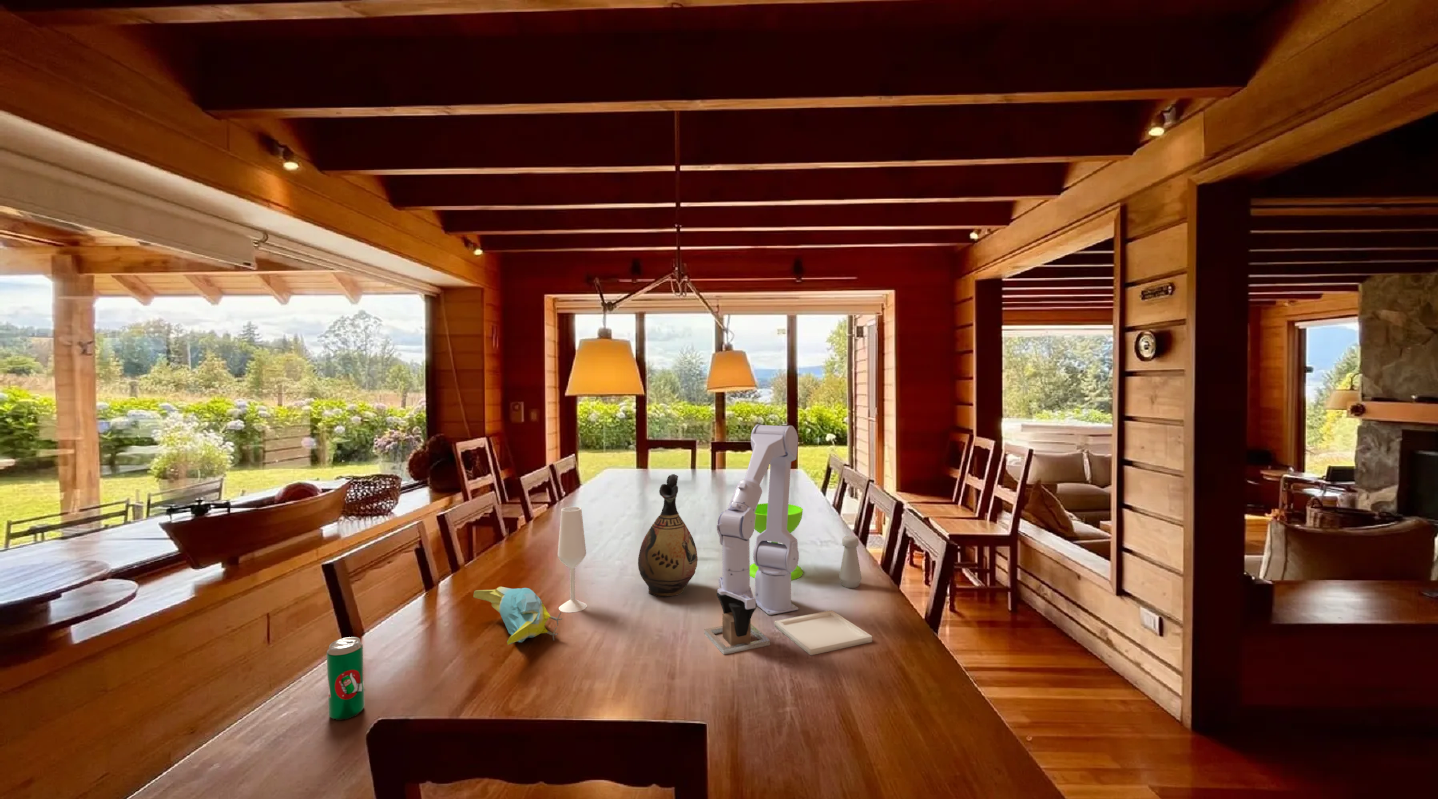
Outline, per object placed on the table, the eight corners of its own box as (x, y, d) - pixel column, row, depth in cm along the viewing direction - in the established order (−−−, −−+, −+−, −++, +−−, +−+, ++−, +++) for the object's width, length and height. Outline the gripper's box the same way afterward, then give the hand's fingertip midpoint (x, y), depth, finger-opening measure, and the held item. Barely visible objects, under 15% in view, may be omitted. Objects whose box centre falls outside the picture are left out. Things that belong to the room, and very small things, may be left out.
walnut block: (722, 637, 127) (722, 614, 126) (741, 633, 128) (741, 610, 128) (731, 645, 122) (730, 622, 122) (750, 641, 124) (750, 618, 124)
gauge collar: (704, 633, 128) (704, 629, 128) (748, 625, 132) (748, 621, 132) (723, 654, 119) (723, 649, 118) (770, 645, 123) (770, 640, 123)
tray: (774, 626, 132) (774, 621, 132) (831, 615, 138) (831, 610, 138) (810, 655, 118) (810, 649, 118) (872, 641, 124) (872, 636, 124)
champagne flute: (575, 599, 148) (574, 504, 147) (592, 606, 144) (591, 508, 143) (552, 607, 143) (551, 509, 142) (569, 614, 139) (568, 513, 138)
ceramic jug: (696, 601, 146) (695, 481, 145) (633, 601, 147) (632, 481, 146) (699, 578, 163) (698, 470, 162) (644, 578, 164) (642, 470, 163)
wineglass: (740, 578, 163) (740, 513, 162) (753, 560, 178) (753, 501, 178) (798, 584, 159) (798, 517, 158) (806, 565, 174) (806, 504, 173)
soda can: (339, 705, 101) (337, 636, 101) (370, 704, 101) (368, 635, 101) (322, 722, 96) (319, 650, 95) (354, 721, 96) (352, 648, 96)
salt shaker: (861, 590, 154) (861, 540, 153) (839, 588, 155) (839, 539, 154) (861, 582, 159) (861, 534, 159) (839, 581, 160) (839, 533, 160)
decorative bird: (535, 607, 144) (534, 570, 143) (579, 655, 118) (578, 609, 118) (474, 621, 136) (473, 581, 136) (507, 675, 111) (506, 626, 111)
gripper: (705, 559, 130) (706, 620, 130) (732, 580, 117) (733, 648, 117) (735, 555, 133) (735, 615, 133) (764, 575, 119) (765, 641, 120)
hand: (736, 630), depth 125 cm, fingers closed on walnut block, 4 cm apart
